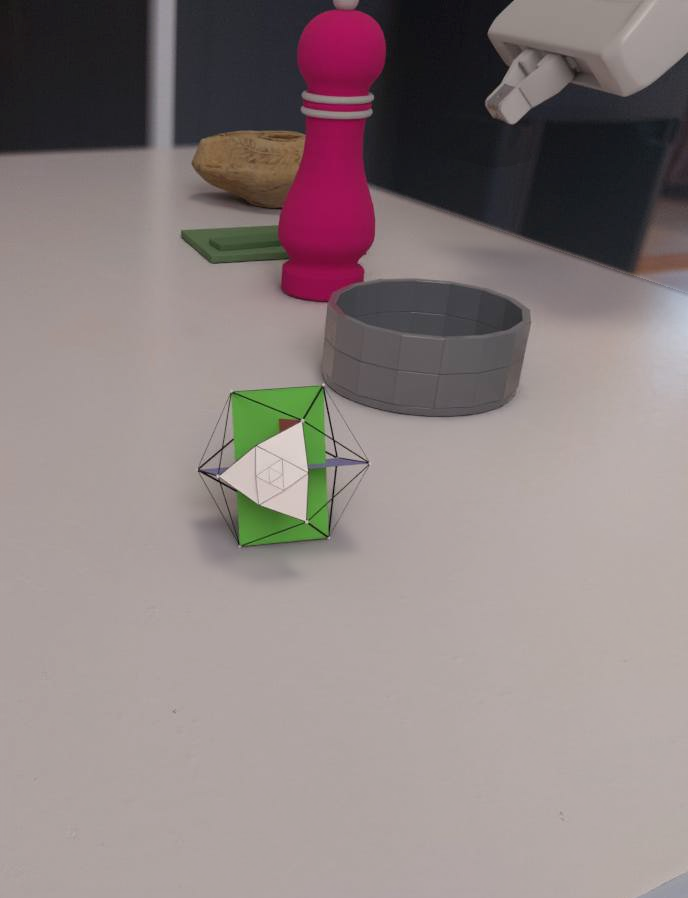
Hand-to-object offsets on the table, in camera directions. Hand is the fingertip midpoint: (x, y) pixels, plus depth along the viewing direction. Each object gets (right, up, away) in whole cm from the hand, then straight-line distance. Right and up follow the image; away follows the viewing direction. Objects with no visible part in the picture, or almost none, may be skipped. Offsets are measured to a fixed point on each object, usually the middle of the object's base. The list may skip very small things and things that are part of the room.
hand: (496, 114), depth 74 cm
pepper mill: (-12, -11, +5) cm, 17 cm away
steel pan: (-8, -22, -11) cm, 25 cm away
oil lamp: (-15, +6, +30) cm, 34 cm away
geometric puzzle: (-18, -33, -27) cm, 46 cm away
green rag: (-15, -3, +16) cm, 22 cm away
